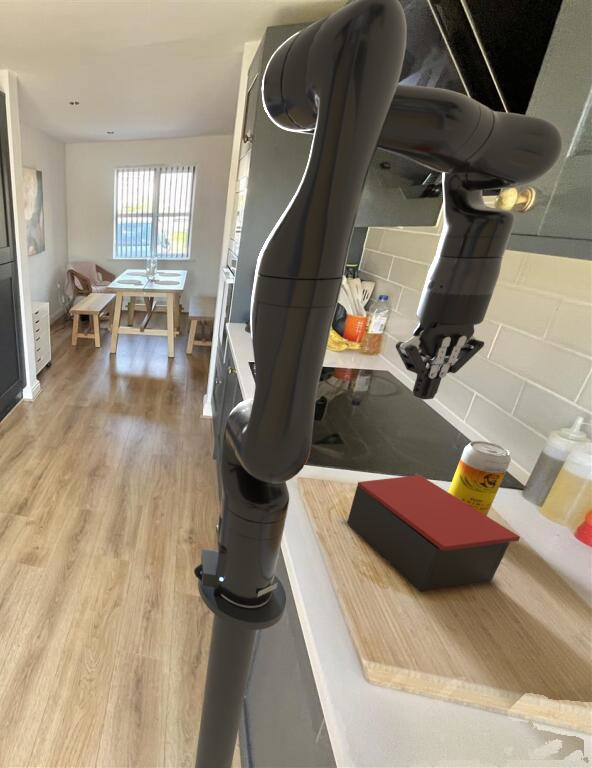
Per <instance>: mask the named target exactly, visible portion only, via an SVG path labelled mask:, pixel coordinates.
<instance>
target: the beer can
mask: <svg viewBox="0 0 592 768" xmlns="http://www.w3.org/2000/svg"><path fill="white" fill-rule="evenodd" d="M511 461H512V457H511V452H510V451H509V450H508V449H506V447H503V446H500V445H498V444H495V443H492V442H488V441H483V440H482V441H481V440H474V441H470V442H469V444H467V445H466V446H465V447H464V448H463V451H462V454H461V457H460V459H459V462H458V464H457V467H456V470H455V473H454V476H453V477H452V481H451V483H450V486H449V488H448V491H447V492H448V493H450V494H451V495H453V496H455V497H456V498H458V499H460V500H461V501H463V502H464V503H466V504H468V505H469V506H471V507H473V508H474V509H476V510H478V511H479V512H481V513H482V514H484V515H486V516H487V517H488V514H489V512H490V510H491V507H492V505H493V503H494V500H495V498H496V495H497V493H498V491H499V488H500V486H501V484H502V482H503V480H504V477H505V475H506V473H507V470H508V468H509V466H510V463H511Z"/></svg>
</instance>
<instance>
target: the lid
mask: <svg viewBox="0 0 592 768" xmlns="http://www.w3.org/2000/svg"><path fill="white" fill-rule="evenodd" d="M357 486H359V487H360V488H361V489H363V490H364V491H365V492H367V493H368V494H369V495H370V496H372V497H373V498H374V499H376V500H377V501H378V502H380V503H381V504H382V505H384V506H385V507H386V508H387V509H389V510H390V511H391V512H393V513H394V514H395V515H397V516H398V517H399V518H401V519H402V520H403V521H405V522H406V523H407V524H408V525H410V526H411V527H412V528H414V529H415V530H416V531H418V532H419V533H420V534H422V535H423V536H424V537H425V538H427V539H428V540H429V541H431V542H432V543H433V544H435V545H436V546H437V547H439V548H440V549H441V550H443V551H446V550H453V549H461V548H468V547H476V546H483V545H491V544H498V543H505V542H510V543H512V542H513V543H514V542H518V541H520V538H521V536H520V535H518V534H517V533H515V532H513V531H511V530H510V529H508V528H507V527H505V526H504V525H502V524H500V523H499V522H497V521H496V520H494V519H493V518H490V517H489V516H488V515H487V516H486V515H484V514H482V513H481V512H479V511H478V510H476V509H474V508H473V507H471V506H469V505H468V504H466V503H464V502H463V501H461V500H460V499H458V498H456V497H455V496H453V495H451V494H450V493H448V491H446V490H445V489H443V488H442V487H440V486H438V485H437V484H435V483H433V482H432V481H430V480H429V479H427V478H426V477H424V476H423V475H420V474H417V475H409V476H400V477H399V476H398V477H390V478H381V479H373V480H364V481H357V484H356V487H357Z"/></svg>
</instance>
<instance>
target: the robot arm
mask: <svg viewBox="0 0 592 768" xmlns="http://www.w3.org/2000/svg"><path fill="white" fill-rule="evenodd" d="M407 28H408V27H407V19H406V14H405V11H404V8H403V6H402V3H401V2H400V1H399V0H354V1H351V2H350V3H348V4H346V5H344V6H343V7H341V8H339V9H336V10H335V11H333V12H331V13H329V14H328V15H326V16H324V17H322V18H320V19H318V20H317V21H315V22H313V23H312V24H309V25H308V26H306V27H304V28H303V29H301V30H299V31H298V32H296V33H295V34H293V35H292V36H290V37H289V38H288V39H286V41H284V42H283V43H282V44H281V45H280V46H278V48H277V49H276V50H275V51H274V53H273V54H272V55H271V57H270V59H269V61H268V63H267V65H266V67H265V68H266V69H265V71H264V74H263V78H262V86H261V95H262V104H263V107H264V110H265V112H266V113H267V115H268V117H269V119H270V120H271V121H272V122H273V123H274V124H275V125H276V126H277V127H279V128H281V129H283V130H285V131H289V132H295V133H300V134H308V135H309V134H310V135H313V137H312V138H313V139H312V143H311V147H310V153H309V157H308V161H307V165H306V168H305V171H304V173H303V176H302V179H301V181H300V183H299V186H298V187H297V190H296V192H295V194H294V196H293V197H292V199H291V201H290V202H289V204H288V205H287V207H286V209H285V211H284V212H283V213H282V215H281V216H280V218H279V220H278V221H277V222H276V224H275V226H274V228H273V229H272V231H271V232H270V234H269V235H268V238H266V241H265V243H264V245H263V247H262V249H261V251H260V253H259V256H258V258H257V263H256V268H255V274H254V280H253V286H252V294H251V302H250V319H249V320H250V334H251V346H252V352H253V353H252V354H253V361H254V369H255V386H254V393H253V397H252V398H247V399H246V400H243V401H242V402H240V403H238V404H237V405H236V406H235V407H233V409H232V410H231V411H230V412H229V414H228V416H227V418H226V421H225V423H224V428H223V430H224V431H223V436H222V445H221V446H222V448H221V461H220V479H221V488H222V491H221V500H220V506H219V507H220V509H219V517H218V525H215V530H214V537H213V547H212V549H206V548H205V549H204V548H202V549H201V555H200V564H198V565H197V566H195V568H194V570H193V573H194V576H195V577H196V578H197V580H198V579H199V580H201V581H202V585H203V586H210V587H213V594H214V596H218V597H221V598H222V599H224V600H225V601H226V602H228V603H229V604H231V605H233V606H235V607H238V608H242V609H247V610H255V609H260V608H262V607H264V606H266V605H267V604H268V603H269V601H270V599H271V595H272V590H274V589H276V588H277V583H276V584H274V585H273V581H274V576H275V575H276V571H277V566H278V562H279V561H278V560H279V555H280V550H281V546H282V540H283V535H284V529H285V525H286V519H287V516H288V511H289V510H288V509H289V504H290V493H289V488H288V485H287V482H288V481H290V480H291V479H293V478H294V477H296V476H297V475H298V474H299V473H300V472H301V471H302V469H304V467H305V465H306V464H307V462H308V459H309V457H310V454H311V450H312V444H313V434H314V425H315V424H314V423H315V414H316V404H317V395H318V389H319V383H320V378H321V374H322V371H323V366H324V362H325V357H326V353H327V349H328V343H329V339H330V334H331V331H332V326H333V322H334V318H335V314H336V311H337V307H338V304H339V301H340V300H339V299H340V295H341V291H342V287H343V282H344V278H345V273H346V267H347V261H348V256H349V251H350V246H351V242H352V238H353V234H354V229H355V226H356V221H357V218H358V214H359V210H360V206H361V203H362V198H363V195H364V190H365V188H366V184H367V180H368V177H369V175H370V171H371V167H372V164H373V162H374V159H375V155H376V152H377V149H378V150H380V151H384V152H388V153H391V154H394V155H396V156H399V157H400V158H404V159H406V160H408V161H411V162H413V163H415V164H418V165H420V166H422V167H425V168H426V169H429V170H431V171H434V172H437V173H441V174H442V181H441V183H442V199H443V225H442V230H441V234H440V238H439V241H438V246H437V248H436V252H435V255H434V258H433V261H432V263H431V265H430V268H429V269H428V273H427V275H426V279H425V282H424V285H423V286H424V287H423V288H422V289H423V290H422V292H421V297H420V299H419V304H418V307H417V311H416V318H417V319H418V325H417V326H416V328H415V329H414V331H413V334H412V337H410V338H409V339H408V340H407V341H405V342H404V341H398V342H397V343H396V344H395V349H396V351H397V353H398V355H399V356H400V359H401V361H402V363H403V365H404V367H405V369H406V370H407V371H409V372H411V373H415V374H416V378H415V382H414V385H413V388H412V394H413V396H414V397H416V398H418V399H420V400H433V399H434V398H435V396H436V394H437V393H438V390H439V388H440V385H441V381H442V379H443V378H446V376H447V374H456V373H457V372H458V371H460V369H462V368H463V367H464V366H465V365H466V364H467V363H468V362H469V361H470V360H471V359H472V358H473V357H475V355H476V354H478V353H479V352H480V350H481V349H483V348H484V346H485V342H484V341H483V340H479V339H477V338H476V337H475V336H474V334H475V326H477V325H480V324H482V323H483V321H484V320H485V317H486V315H487V311H488V308H489V305H490V302H491V300H492V296H493V294H494V292H495V288H496V286H497V283H498V280H499V276H500V274H501V268H502V262H503V258H504V255H505V253H506V249H507V247H508V244H509V241H510V237H511V234H512V232H513V229H514V226H515V222H516V215H515V213H514V212H512V211H510V210H506V209H501V208H497V207H496V208H495V207H490V206H487V205H486V204H485V201H484V197H483V191H487V190H488V191H489V190H502V189H515V188H520V187H525V186H528V185H530V184H532V183H535V182H537V181H539V180H540V179H542V178H543V177H544V176H546V175H547V174H548V173H550V171H552V170H553V169H554V167H555V166H556V165H557V163H558V162H559V160H560V158H561V156H562V154H563V149H564V139H563V135H562V132H561V130H560V129H559V128H558V127H557V125H555V124H554V123H553V122H551V121H550V120H547V119H545V118H542V117H537V116H533V115H527V114H522V113H521V114H520V113H515V112H507V111H506V112H503V111H495V110H493V109H491V108H490V107H488V106H486V105H485V104H482V103H481V102H480V101H478V100H476V99H474V98H472V97H471V96H468V95H466V94H464V93H461V92H459V91H454V90H451V89H446V88H441V87H431V86H424V85H423V86H422V85H413V84H402V83H399V82H400V78H401V75H402V70H403V67H404V60H405V55H406V49H407V34H408V31H407ZM201 571H202V574H201V573H200V572H201Z"/></svg>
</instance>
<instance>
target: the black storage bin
mask: <svg viewBox="0 0 592 768" xmlns="http://www.w3.org/2000/svg"><path fill="white" fill-rule="evenodd" d="M346 524H347V526H349V527H350V528H351V529H352V530H353V531H354V532H355V533H356V534H358V535H359V536H360V537H361V538H362V539H363V540H364V541H365V542H366V543H367V544H369V546H371V547H372V548H373V549H374V550H375V551H376V553H378V554H379V555H380V556H382V558H384V560H385V561H387V562H388V563H389V564H390V565H391V566H392V567H393V568H394V569H395V570H396V571H397V572H399V573H400V574H401V575H402V576H403V577H404V578H405V579H406V580H407V581H408V582H409V583H410V584H411V585H412V586H414V587H415V588H416V589H417V590H418V591H419V592H420V593H421V592H427V591H434V590H435V591H436V590H440V589H447V588H448V589H449V588H456V587H462V586H470V585H476V584H483V583H491V582H492V581H493V579H494V577H495V574H496V572H497V570H498V568H499V566H500V564H501V563H502V560H503V558H504V556H505V554H506V551H507V549H508V547H509V545H510V543H511V542H505V543H498V544H491V545H483V546H476V547H468V548H461V549H453V550H446V551H443V550H441V549H440V548H439V547H437V546H436V545H435V544H433V543H432V542H431V541H429V540H428V539H427V538H425V537H424V536H423V535H422V534H420V533H419V532H418V531H416V530H415V529H414V528H412V527H411V526H410V525H408V524H407V523H406V522H405V521H403V520H402V519H401V518H399V517H398V516H397V515H395V514H394V513H393V512H391V511H390V510H389V509H387V508H386V507H385V506H384V505H382V504H381V503H380V502H378V501H377V500H376V499H374V498H373V497H372V496H370V495H369V494H368V493H367V492H365V491H364V490H363V489H361V488H360V487H359V486H357V485H356V488H355V492H354V496H353V499H352V503H351V507H350V511H349V513H348V518H347V522H346Z"/></svg>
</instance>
